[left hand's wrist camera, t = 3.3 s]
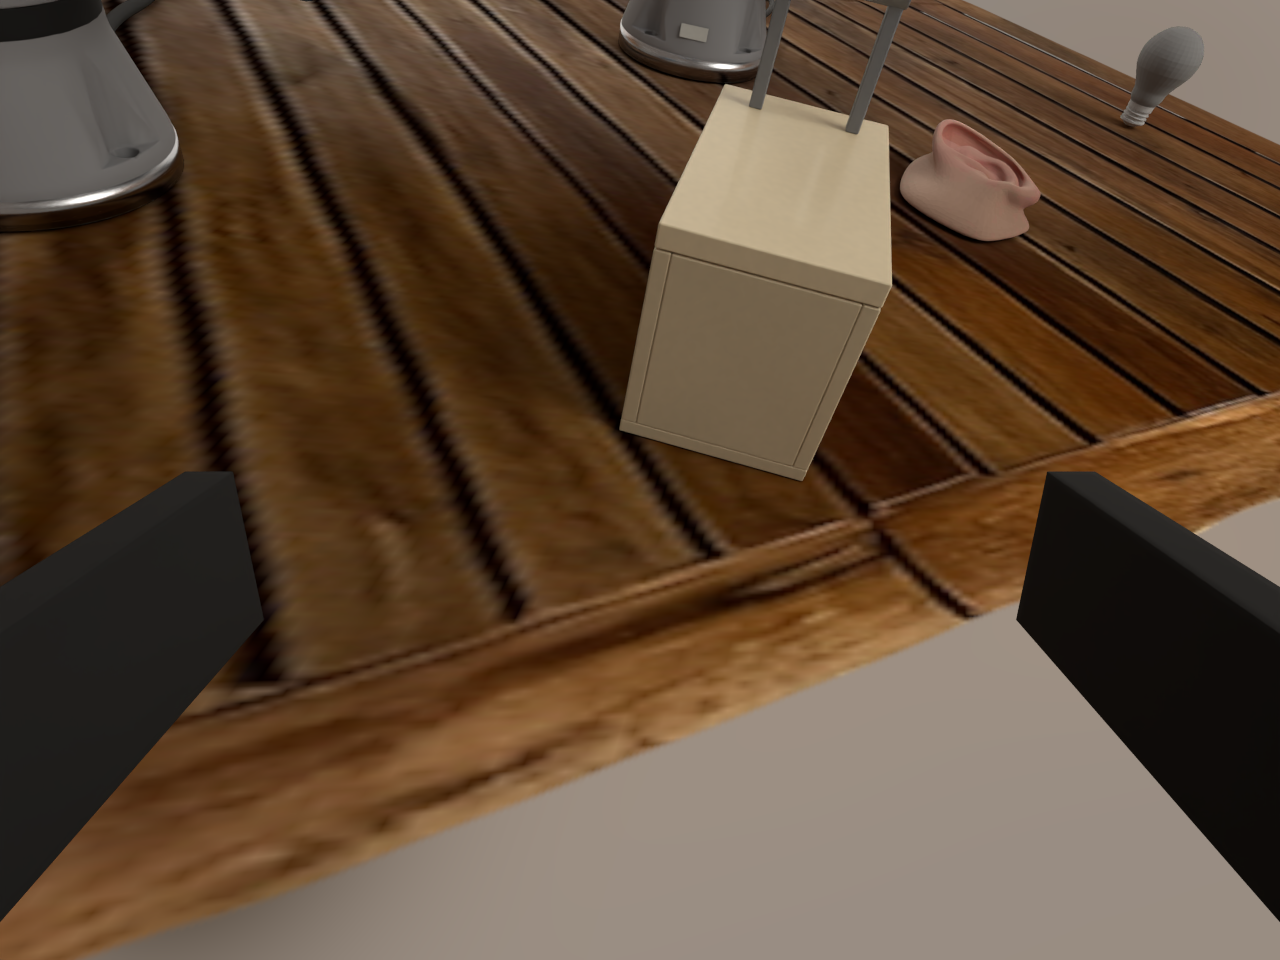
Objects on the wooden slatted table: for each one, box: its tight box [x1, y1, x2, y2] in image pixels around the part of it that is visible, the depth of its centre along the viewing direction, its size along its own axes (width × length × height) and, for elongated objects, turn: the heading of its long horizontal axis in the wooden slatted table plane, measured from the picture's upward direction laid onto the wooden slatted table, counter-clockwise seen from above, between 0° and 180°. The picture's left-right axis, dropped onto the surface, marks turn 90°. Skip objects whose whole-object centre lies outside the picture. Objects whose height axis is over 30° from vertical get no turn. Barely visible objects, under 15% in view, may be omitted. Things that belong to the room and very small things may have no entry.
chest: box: [619, 247, 880, 481], centre depth 39 cm, size 17×9×10 cm, turn 167°
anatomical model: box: [900, 120, 1040, 241], centre depth 62 cm, size 13×4×12 cm
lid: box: [655, 0, 911, 308], centre depth 33 cm, size 18×9×8 cm, turn 167°
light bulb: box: [1121, 27, 1204, 127], centre depth 83 cm, size 6×6×10 cm
